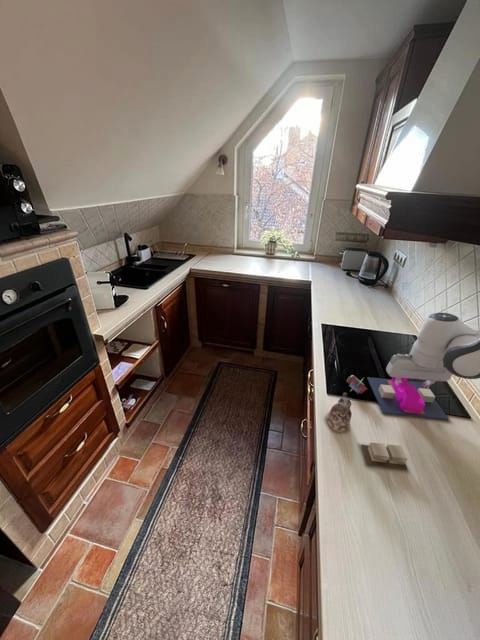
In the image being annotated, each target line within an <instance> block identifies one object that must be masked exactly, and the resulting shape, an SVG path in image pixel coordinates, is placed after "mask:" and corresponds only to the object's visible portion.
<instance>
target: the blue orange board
mask: <svg viewBox="0 0 480 640" xmlns="http://www.w3.org/2000/svg"><path fill="white" fill-rule="evenodd" d="M366 380H367V382H368V384H369V387H370V389H371V391H372V394H373V395H374V398H375V401H376V402H377V404H378V406H379V409H380V412H381V413H382V414H383V415H391V416H392V415H393V416H400V417H401V416H403V417H411V418H419V419H420V418H422V419H431V420H437V421H439V420H441V421H449V420H450V418H449V417H448V416H447V414H446V412H445V411H444V409H442V407H441V406H440V404H439V403H438V401H437V400H436V396H435V394H434V393H433V392H432V390H431V389H430V388H423V386H422V383H423V382H424V381H414V380H413V381H412V380H408V385H413V386H415V389H416V391H418V392H419V395H420V396H422V399H423V401H424V403H425V406H424V408H423V409H422V411H421V413H416V412H411V411H406V410H401V409H400V406H399V403H398V400H397V397H396V394H395V391H394V388H393V385H392V382H391V380H392V378H381V377H380V378H379V377H372V376H371V377H370V376H368V377H366Z"/></svg>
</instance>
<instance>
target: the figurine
mask: <svg viewBox="0 0 480 640" xmlns="http://www.w3.org/2000/svg"><path fill="white" fill-rule="evenodd" d="M351 407H352V402H351V400H350V399H349V398H348V393H347V392H343V393H342V396H341V397H340V398H338V402H337V403H334V404H333V405H332V406H331V408H330V410H329V412H328V414H327V416H326V422H327V424H328V426H329V427H330V428H331V429H332V430H333V431H336V432H338V433H340V432H346V431H347V430H348V429H349V427H350V423H351V419H352V411H351V410H352V409H351Z"/></svg>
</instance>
